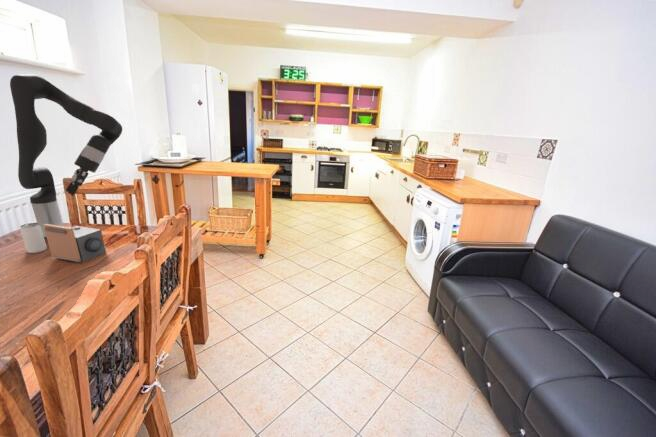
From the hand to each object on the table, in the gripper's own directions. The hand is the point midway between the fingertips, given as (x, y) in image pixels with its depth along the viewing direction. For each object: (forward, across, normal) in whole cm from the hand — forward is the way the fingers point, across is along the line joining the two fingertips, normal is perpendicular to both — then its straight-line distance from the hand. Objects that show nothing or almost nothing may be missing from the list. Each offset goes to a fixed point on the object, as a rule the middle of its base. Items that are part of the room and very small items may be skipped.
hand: (69, 192), depth 123 cm
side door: (+26, +4, +10) cm, 28 cm away
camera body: (+23, +1, +15) cm, 27 cm away
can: (+30, -18, +3) cm, 35 cm away
